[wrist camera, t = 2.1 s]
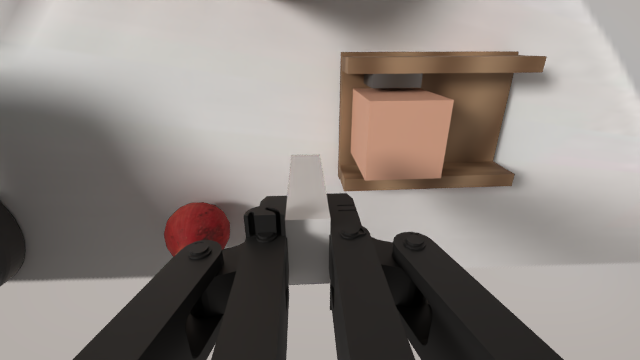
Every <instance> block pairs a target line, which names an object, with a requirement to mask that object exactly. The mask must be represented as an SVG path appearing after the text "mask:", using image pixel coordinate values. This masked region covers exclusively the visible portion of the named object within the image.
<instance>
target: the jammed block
mask: <svg viewBox="0 0 640 360" xmlns="http://www.w3.org/2000/svg"><path fill="white" fill-rule="evenodd" d="M453 103H454V100H452V99H449V98H446V97H444V96H441V95H438V94H435V93H432V92H429V91H426V90H423V89H420V88H356V89H353V102H352V128H351V154H352V156H353V158H354V160H355V162H356V164H357V166H358V168H359V170H360V172H361V174H362V176H363V178H364V180H365V181H369V180H402V179H434V178H441V174H442V168H443V162H444V156H445V150H446V144H447V139H448V133H449V127H450V121H451V115H452V109H453Z"/></svg>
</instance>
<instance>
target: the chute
mask: <svg viewBox="0 0 640 360" xmlns="http://www.w3.org/2000/svg"><path fill="white" fill-rule="evenodd" d="M518 53H519V52H341V72H340V116H339V160H338V177H339V179H340V180H341V183H342V186H343V189H344V191H368V190H399V189H430V188H461V187H492V186H512V182H513V179H514V175H515V174H514V173H512V172H510V171H508V170H507V169H505V168H503V167H502V166H500V165H498V164H497V163H495V162H493V158H494V154H495V150H496V146H497V142H498V137H499V133H500V129H501V125H502V120H503V116H504V112H505V108H506V104H507V99H508V95H509V91H510V87H511V82H512V78H513V74H514V73H522V72H543V68H544V65H545V61H546V57H547V56H523V55H518ZM356 88H420V89H423V90H426V91H429V92H432V93H435V94H438V95H441V96H444V97H446V98H449V99H452V100H454V103H453V109H452V115H451V121H450V127H449V133H448V139H447V144H446V150H445V156H444V162H443V168H442V174H441V178H434V179H402V180H369V181H365V180H364V178H363V176H362V174H361V172H360V170H359V168H358V166H357V164H356V162H355V160H354V158H353V156H352V154H351V128H352V102H353V89H356Z"/></svg>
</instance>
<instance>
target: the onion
mask: <svg viewBox="0 0 640 360" xmlns="http://www.w3.org/2000/svg"><path fill="white" fill-rule="evenodd" d="M229 235H230V222H229V221H228V219H227V217H226V215H225V213H224V212H223V211H222V210H221V209H219V208H218V207H216V206H215V205H212V204H208V203H203V202H201V203H190V204H187V205H184V206H182V207H180V208H179V209H178V210H177V211H176V212H175V213H174V214H173V215H172V216H171V217H170V218H169V219H168V221H167V224H166V228H165V231H164V238H165V242H166V246H167V248H168V250H169V251H170V253H171V254H172V256H173V257H174V256H175V255H176V254H177V253H178V252H179V251H180V250H181V249H183V248H184V247H185V246H187V245H189V244H191V243H193V242H196V241H200V240H212V241H216V242H218V243H219V244H220V245H221V247H222V250H223V249H224V248H225V246H226V244H227V242H228V240H229Z"/></svg>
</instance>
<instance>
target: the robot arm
mask: <svg viewBox="0 0 640 360" xmlns="http://www.w3.org/2000/svg"><path fill="white" fill-rule="evenodd" d="M244 223H245V232H246V239H245V242H244V243H242V244H240V245H238V246H235V247H231V248H227V249H223V250H222V247H221V245H220V244H219V243H218V242H216V241H212V240H200V241H196V242H193V243H191V244H189V245H187V246H185V247H184V248H183V249H181V250H180V251H179V252H178V253H177V254H176V255H175V256H174V257H173V258H172V259H171V260H170V261H169V262H168V263H167V264H166V265H165V266H164V267H163V268H162V269H161V270H160V271H159V272H158V273H157V274H156V275H155V277H154V278H153V279H152V280H151V281H150V282H149V283H148V284H147V285H146V286H145V287H144V288H143V289H142V290H141V291H140V292H139V293H138V294H137V295H136V296H135V297H134V298H133V299H132V300H131V301H130V302H129V303H128V304H127V305H126V306H125V307H124V308H123V309H122V310H121V311H120V312H119V313H118V314H117V315H116V316H115V317H114V318H113V319H112V320H111V321H110V322H109V323H108V324H107V325H106V326H105V327H104V328H103V329H102V330H101V331H100V332H99V333H98V334H97V335H96V336H95V337H94V338H93V340H92V341H90V342H89V343H88V344H87V345H86V347H85V348H84V349H83V350H82V351H81V352H80V353H79V354H78V355H77V356H76V357H75V358H74V359H73V360H206V359H207V358H208V356H209V354H210V352H211V351H212V349H213V347H214V345H215V343H216V345H215V348H214V352H213V355H212V359H211V360H286V350H287V328H288V307H289V289H288V288H289V287H288V283H289V285H298V284H322V283H323V284H324V283H330V310H332V313H333V323H334V332H335V341H336V350H337V359H338V360H415V358H414V355H413V352H412V350H411V347H410V344H409V341H410V343H411V345H412V346H413V348H414V349H415V351H416V352H417V354H418V355H419V357H420V358H421V360H564V359H562V358H561V357H560V356H559V355H558V354H557V353H556V352H555V351H554V350H552V349H551V348H550V347H549V346H548V345H547V344H546V343H545V342H544V341H543V340H542V339H540V338H539V337H538V336H537V335H536V334H535V333H534V332H533V331H532V330H531V329H529V328H528V327H527V326H526V325H525V324H524V323H523V322H522V321H521V320H520V319H518V318H517V317H516V316H515V315H514V314H513V313H512V312H511V311H510V310H509V309H507V308H506V307H505V306H504V305H503V304H502V303H501V302H500V301H499V300H497V299H496V298H495V297H494V296H493V295H492V294H491V293H490V292H489V291H488V290H486V289H485V288H484V287H483V286H482V285H481V284H480V283H479V282H478V281H477V280H475V279H474V278H473V277H472V276H471V275H470V274H469V273H468V272H467V271H466V270H464V269H463V268H462V267H461V266H460V265H459V264H458V263H457V262H456V261H455V260H453V259H452V258H451V257H450V256H449V255H448V254H447V253H446V252H445V251H444V250H442V249H441V248H440V247H439V246H438V245H437V244H436V243H435V242H434V241H433V240H431V239H430V238H428V237H427V236H425V235H422V234H419V233H414V232H403V233H400V234H398V235H396V236H395V237H394V241H393V242H387V241H381V240H377V239H375V238H372V237H371V236H370V233H369V231H368V230H367V229H366V228H365V227H363V226H362V225H361V222H360V219H359V216H358V213H357V211H356V207H355V204H354V201H353V198H351V197H350V196H349V195H348V194H346V193H341V194H326V189H325V183H324V177H323V171H322V165H321V159H320V155H291V163H290V173H289V184H288V194H287V196H267V197H266V198H264V199H263V200H262V201H261V203H260V206H258V207H255V208H252V209H250V210H249V211H247V212H246V213H245V215H244ZM24 256H25V244H24V239H23V236H22V233H21V231H20V228H19V226H18V225H17V223H16V221H15V220H14V218H13V217H12V215H11V214H10V213H9V212H8V210H7V209H6V208H5V207H4V206H3V205H2V204H1V203H0V286H1V285H3V284H4V283H5V282H6V281H8V280H9V279H10V278H11V277H13V276H14V275H15V274H16V273H17V272H18V270H19V269H20V267H21V265H22V263H23V260H24ZM408 340H409V341H408Z"/></svg>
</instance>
